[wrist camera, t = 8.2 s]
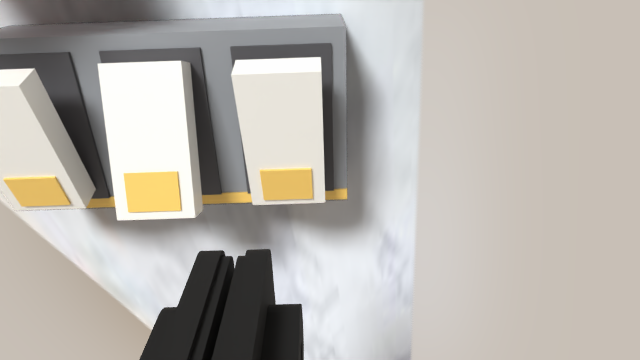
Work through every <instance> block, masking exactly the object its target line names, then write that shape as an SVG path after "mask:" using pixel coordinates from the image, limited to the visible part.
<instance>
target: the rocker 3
mask: <svg viewBox="0 0 640 360" xmlns="http://www.w3.org/2000/svg"><path fill="white" fill-rule="evenodd" d="M231 77H232V83H233V89H234V95H235V101H236V107H237V113H238V119H239V125H240V131H241V137H242V143H243V149H244V155H245V161H246V167H247V173H248V179H249V185H250V191H251V197H252V203H253V205H273V204H302V203H325V176H324V142H323V108H322V74H321V57H308V58H280V59H251V60H235V64H234V67H233V70H232V74H231Z"/></svg>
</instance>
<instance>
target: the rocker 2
mask: <svg viewBox="0 0 640 360" xmlns="http://www.w3.org/2000/svg"><path fill="white" fill-rule="evenodd" d="M98 72H99V80H100V88H101V96H102V104H103V112H104V120H105V128H106V135H107V143H108V151H109V159H110V167H111V175H112V183H113V191H114V199H115V207H116V215H117V220H146V219H176V218H196V217H197V216H198V215H199V214H200V213H201V212H202V211H203V203H202V192H201V180H200V169H199V157H198V146H197V135H196V123H195V112H194V100H193V89H192V77H191V66H190V63H189V62H185V61H157V62H128V63H100V64H98Z"/></svg>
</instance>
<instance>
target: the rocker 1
mask: <svg viewBox="0 0 640 360" xmlns="http://www.w3.org/2000/svg"><path fill="white" fill-rule="evenodd" d="M95 190H96V188H95V186H94V184H93V182H92V181H91V179H90V177H89V175H88V173H87V171H86V169H85V167H84V165H83V163H82V161H81V159H80V157H79V155H78V153H77V151H76V149H75V147H74V145H73V143H72V141H71V139H70V137H69V135H68V133H67V131H66V129H65V127H64V125H63V123H62V121H61V119H60V117H59V115H58V113H57V111H56V110H55V108H54V106H53V104H52V102H51V100H50V98H49V96H48V94H47V92H46V90H45V88H44V86H43V84H42V82H41V80H40V78H39V76H38V74H37V72H36V70H35V68H34V69H5V70H0V191H1V192H2V194H3V195H4V197H5V198H6V199H7V201H8V202H9V204H10V205H11V206H12V208H13V209H14V211H25V210H54V209H84V208H87V206H88V204H89V202H90V200H91V198H92V196H93V194H94V192H95Z"/></svg>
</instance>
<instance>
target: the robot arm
mask: <svg viewBox="0 0 640 360" xmlns="http://www.w3.org/2000/svg"><path fill="white" fill-rule="evenodd" d="M140 360H304V344H303V318H302V305H301V304H283V305H276V304H275V293H274V281H273V270H272V259H271V251H270V249H261V250H247V251H246V255H245V256H238V258H237V262H236V266H235V269H234V262H233V258H232V256H225V253H224V251H223V250H222V251H200V252H199V253H198V255H197V258H196V260H195V263H194V265H193V268H192V270H191V273H190V276H189V278H188V281H187V283H186V286H185V288H184V291H183V294H182V296H181V299H180V301H179V304H178V306H177V307H167V308H164V309H162V310H161V312H160V314H159V316H158V318H157V320H156V323H155V325H154V327H153V330H152V332H151V335H150V337H149V339H148V341H147V344H146V346H145V348H144V350H143V353H142V355H141V357H140Z"/></svg>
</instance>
